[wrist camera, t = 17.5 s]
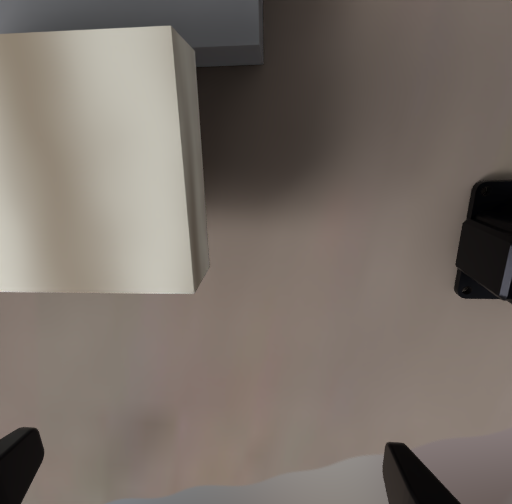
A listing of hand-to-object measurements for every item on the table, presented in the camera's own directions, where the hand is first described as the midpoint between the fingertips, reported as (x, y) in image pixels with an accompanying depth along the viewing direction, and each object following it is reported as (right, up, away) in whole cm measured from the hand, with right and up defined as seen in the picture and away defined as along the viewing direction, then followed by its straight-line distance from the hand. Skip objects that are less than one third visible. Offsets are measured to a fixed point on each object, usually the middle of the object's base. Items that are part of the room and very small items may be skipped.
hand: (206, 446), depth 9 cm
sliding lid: (-6, +9, +6) cm, 12 cm away
